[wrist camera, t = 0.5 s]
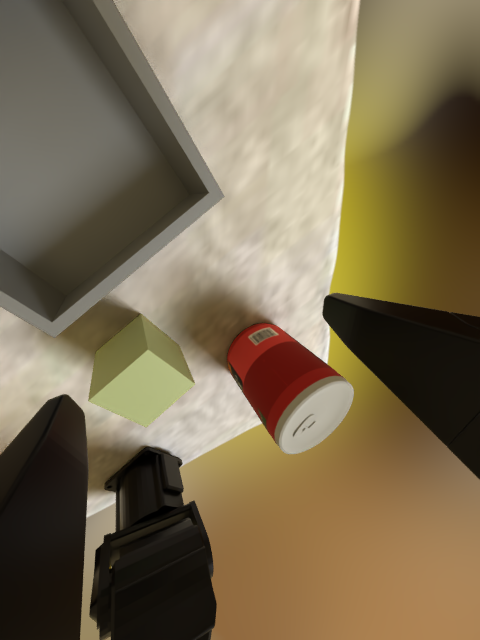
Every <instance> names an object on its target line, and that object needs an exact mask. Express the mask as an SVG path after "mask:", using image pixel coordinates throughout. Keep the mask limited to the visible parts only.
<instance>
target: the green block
mask: <svg viewBox="0 0 480 640" xmlns="http://www.w3.org/2000/svg"><path fill="white" fill-rule="evenodd" d="M194 385H195V382H194V380H193V377H192V375H191V373H190V370H189V368H188V365H187V363H186V361H185V358H184V356H183V354H182V351H181V349H180V346H179V345H178V344H177V343H175V342H174V341H173V340H172V339H171V338H170V337H168V336H167V335H166V334H165V333H164V332H162V331H161V330H160V329H159V328H158V327H156V326H155V325H154V324H153V323H152V322H150V321H149V320H148V319H147V318H146V317H144V316H143V315H142V314H140V315H139V316H138V317H136V318H135V319H134V320H133V321H132V322H130V323H129V324H128V325H127V326H126V327H125V328H123V329H122V330H121V331H120V332H119V333H117V334H116V335H115V336H114V337H113V338H112V339H110V340H109V341H108V342H107V343H106V344H104V345H103V346H102V347H101V348H100V349H99V350H97V351H96V353H95V360H94V366H93V373H92V379H91V386H90V393H89V399H88V401H89V402H91V403H93V404H96V405H98V406H100V407H102V408H105V409H107V410H109V411H111V412H113V413H116V414H118V415H120V416H122V417H124V418H127V419H129V420H131V421H133V422H136V423H138V424H140V425H142V426H144V427H147V426H149V425H150V424H151V423H152V422H153V421H154V420H155V419H156V418H158V417H159V416H160V415H161V414H162V413H163V412H164V411H165V410H167V409H168V408H169V407H170V406H171V405H172V404H173V403H174V402H176V401H177V400H178V399H179V398H180V397H181V396H182V395H183V394H185V393H186V392H187V391H188V390H189V389H190V388H191V387H193V386H194Z"/></svg>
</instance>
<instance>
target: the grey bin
mask: <svg viewBox="0 0 480 640" xmlns="http://www.w3.org/2000/svg"><path fill="white" fill-rule="evenodd" d="M224 197H225V196H224V195H223V193H222V191H221V189H220V188H219V186H218V184H217V182H216V181H215V179H214V177H213V175H212V174H211V172H210V170H209V168H208V167H207V165H206V163H205V161H204V160H203V158H202V156H201V154H200V153H199V151H198V149H197V147H196V146H195V144H194V142H193V140H192V138H191V137H190V135H189V133H188V131H187V130H186V128H185V126H184V124H183V123H182V121H181V119H180V117H179V116H178V114H177V112H176V110H175V109H174V107H173V105H172V103H171V102H170V100H169V98H168V96H167V95H166V93H165V91H164V89H163V88H162V86H161V84H160V82H159V81H158V79H157V77H156V75H155V74H154V72H153V70H152V68H151V67H150V65H149V63H148V61H147V60H146V58H145V56H144V54H143V52H142V51H141V49H140V47H139V45H138V44H137V42H136V40H135V38H134V37H133V35H132V33H131V31H130V30H129V28H128V26H127V24H126V23H125V21H124V19H123V17H122V16H121V14H120V12H119V10H118V9H117V7H116V5H115V3H114V2H113V0H0V307H2V308H4V309H5V310H7V311H9V312H10V313H12V314H14V315H16V316H17V317H19V318H21V319H23V320H24V321H26V322H28V323H29V324H31V325H33V326H35V327H36V328H38V329H40V330H42V331H43V332H45V333H47V334H48V335H50V336H52V337H54V338H55V337H56V336H58V335H59V334H60V333H61V332H62V331H64V330H65V329H66V328H67V327H68V326H70V325H71V324H72V323H73V322H74V321H76V320H77V319H78V318H79V317H80V316H82V315H83V314H84V313H85V312H86V311H88V310H89V309H90V308H91V307H92V306H94V305H95V304H96V303H97V302H98V301H100V300H101V299H102V298H103V297H105V296H106V295H107V294H108V293H109V292H111V291H112V290H113V289H114V288H115V287H117V286H118V285H119V284H120V283H121V282H123V281H124V280H125V279H126V278H127V277H129V276H130V275H131V274H132V273H133V272H135V271H136V270H137V269H138V268H139V267H141V266H142V265H143V264H144V263H145V262H147V261H148V260H149V259H150V258H151V257H153V256H154V255H155V254H156V253H157V252H159V251H160V250H161V249H162V248H163V247H165V246H166V245H167V244H168V243H169V242H171V241H172V240H173V239H174V238H175V237H177V236H178V235H179V234H180V233H182V232H183V231H184V230H185V229H186V228H188V227H189V226H190V225H191V224H192V223H194V222H195V221H196V220H197V219H198V218H200V217H201V216H202V215H203V214H204V213H206V212H207V211H208V210H209V209H210V208H212V207H213V206H214V205H215V204H216V203H218V202H219V201H220V200H221V199H222V198H224Z"/></svg>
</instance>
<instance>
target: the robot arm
mask: <svg viewBox="0 0 480 640" xmlns="http://www.w3.org/2000/svg"><path fill="white" fill-rule="evenodd" d="M323 318H324V319H325V321H326V322H327V323H328V324H329V325H330V327H331V328H332V329H333V330H334V331H335V333H336V334H337V335H338V336H339V338H340V339H341V340H342V341H343V343H344V344H345V345H346V346H347V347H348V348H349V349H350V350H351V351H352V352H353V353H354V354H355V355H356V356H357V357H358V358H359V359H360V360H361V361H362V362H363V363H364V364H365V365H366V366H367V367H368V368H369V369H370V370H371V371H372V372H373V373H374V374H375V375H376V376H377V377H378V378H379V379H380V380H381V381H382V382H383V383H384V384H385V385H386V386H387V387H388V388H389V389H390V390H391V391H392V392H393V393H394V394H395V395H396V396H397V397H398V398H399V399H400V400H401V401H402V402H403V403H404V404H405V405H406V406H407V407H408V408H409V409H410V410H411V411H412V412H413V413H414V414H415V415H416V416H417V417H418V418H419V419H420V420H421V421H422V422H423V423H424V424H425V425H426V426H427V427H428V428H429V429H430V430H431V431H432V432H433V433H434V434H435V435H436V436H437V437H438V438H439V439H440V440H441V441H442V442H443V443H444V444H445V445H446V446H447V447H448V448H449V449H450V450H451V451H452V452H453V453H454V454H455V455H456V456H457V457H458V458H459V459H460V460H461V461H462V462H463V463H464V464H465V465H466V466H467V467H468V468H469V469H470V470H471V471H472V472H473V473H474V474H475V475H476V476H477V477H478V478H479V479H480V317H477V316H471V315H464V314H459V313H453V312H451V313H449V312H447V311H440V310H435V309H428V308H423V307H417V306H411V305H405V304H399V303H394V302H388V301H382V300H376V299H370V298H364V297H358V296H352V295H346V294H340V293H333V294H330V295H327V296H326V297H325V299H324V305H323ZM181 465H182V460H181V459H178V458H176V457H173V456H171V455H168V454H165V453H163V452H160V451H158V450H155V449H152V448H150V447H147V448H144V449H143V450H142V451H141V452H140V453H139V454H138V455H136V456H135V457H134V458H133V459H132V460H131V461H130V462H129V463H127V464H126V465H125V466H124V467H123V468H122V469H121V470H120V471H118V472H117V473H116V474H115V475H114V476H113V477H112V478H111V479H110V480H108V481H107V482H106V483H105V488H104V489H105V490H108V491H113V492H116V532H115V533H113V534H111V533H109V534H107V535H104V543H103V544H102V545H101V546H100V547H99V548H97V549H96V553H95V569H94V579H93V587H92V595H91V604H90V617H91V618H92V619H93V620H94V621H95V622H97V629H99V628H100V640H105V639H107V638H108V637H110V636H111V640H210V639H211V632H212V629H213V628H214V626H215V617H216V600H215V595H214V592H213V588H212V582H211V578H212V577H213V558H212V552H211V546H210V542H209V538H208V535H207V532H206V530H205V527H204V525H203V522H202V519H201V517H200V514H199V511H198V509H197V506H196V504H195V501H192V502H189V504H187V505H184V503H183V499H182V494H181V493H182V492H183V489H184V488H183V485H182V480H181V475H180V471H179V467H180V466H181ZM87 491H88V452H87V438H86V425H85V415H84V412H83V410H82V409H81V408H80V407H79V406H78V405H77V404H76V403H75V401H74V400H73V399H72V398H71V397H70V396H69V395H66V394H63V395H60V396H57V397H55V398H52V399H50V400H48V401H47V402H46V403H45V404H44V405H43V406H42V408H41V409H40V410H39V411H38V412H37V413H36V414H35V416H34V417H33V418H32V419H31V420H30V421H29V423H28V424H27V425H26V426H25V427H24V428H23V430H22V431H21V432H20V433H19V434H18V435H17V436H16V438H15V439H14V440H13V441H12V442H11V443H10V445H9V446H8V447H7V448H6V449H5V450H4V452H3V453H2V454H1V455H0V640H80V627H81V607H82V587H83V569H84V550H85V530H86V529H85V528H86V510H87ZM111 566H112V568H111Z"/></svg>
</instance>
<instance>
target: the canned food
mask: <svg viewBox="0 0 480 640" xmlns="http://www.w3.org/2000/svg"><path fill="white" fill-rule="evenodd" d="M227 362H228V368H229V371H230V373H231V375H232V376H233V378H234V379H235V381H236V383H237V384H238V386H239V387H240V389H241V390H242V392H243V393H244V395H245V397H246V398H247V400H248V401H249V403H250V404H251V406H252V407H253V409H254V411H255V412H256V414H257V415H258V417H259V418H260V420H261V421H262V423H263V425H264V426H265V428H266V429H267V431H268V432H269V434H270V435H271V436H272V438H273V439H274V441H275V443H276V444H277V445H278V446H279V447H280V449H281V450H282V451H283V452H285V453H287V454H296V453H300V452H303V451H306V450H308V449H310V448H312V447H314V446H315V445H317V444H319V443H320V442H321V441H322V440H324V439H325V438H326V437H327V436H329V435H330V434H331V433H332V432H333V431H334V430H335V429H336V428H337V426H338V425H339V424H340V423H341V422H342V420H343V418H344V417H345V415H346V414H347V412H348V410H349V408H350V406H351V403H352V400H353V395H354V394H353V393H354V390H353V387H352V385H351V384H350V383H349V382H347V380H346V379H345V378H344V377H342V376H341V375H340V374H338V373H337V372H336V371H335V370H334V369H332V368H331V367H330V366H329V365H327V364H326V363H325V362H323V361H322V360H321V359H320V358H318V357H317V356H316V355H314V354H313V353H312V352H310V351H309V350H308V349H307V348H305V347H304V346H303V345H301V344H300V343H299V342H298V341H296V340H295V339H294V338H292V337H291V336H290V335H288V334H287V333H286V332H285V331H283V330H282V329H281V328H279V327H277V326H276V325H272V324H268V323H260V324H255V325H253V326H250V327H248V328H247V329H245V330H244V331H242V332H241V333H240V334H239V335H238V336H237V337H236V338H235V340H234V341H233V342H232V344H231V346H230V348H229V351H228V355H227Z"/></svg>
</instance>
